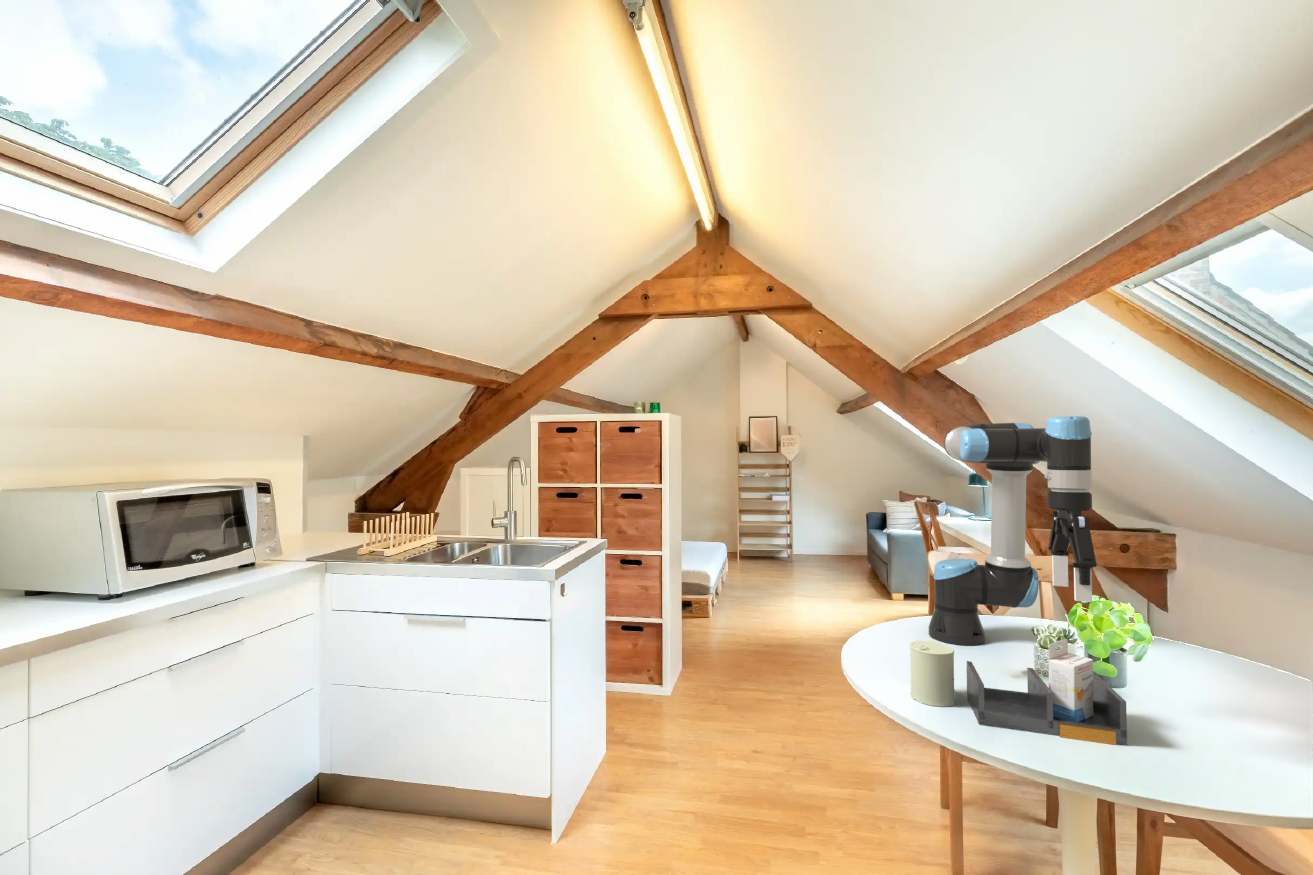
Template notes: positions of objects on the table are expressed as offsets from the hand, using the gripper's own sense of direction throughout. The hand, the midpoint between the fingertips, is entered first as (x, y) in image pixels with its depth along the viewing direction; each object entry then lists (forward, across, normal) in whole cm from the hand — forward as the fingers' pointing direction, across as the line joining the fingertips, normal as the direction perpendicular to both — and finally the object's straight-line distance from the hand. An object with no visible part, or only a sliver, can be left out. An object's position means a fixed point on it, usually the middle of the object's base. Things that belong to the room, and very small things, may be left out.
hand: (1071, 593), depth 119 cm
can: (+27, -4, -26) cm, 38 cm away
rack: (+27, 0, -6) cm, 27 cm away
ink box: (+26, -1, 0) cm, 26 cm away
